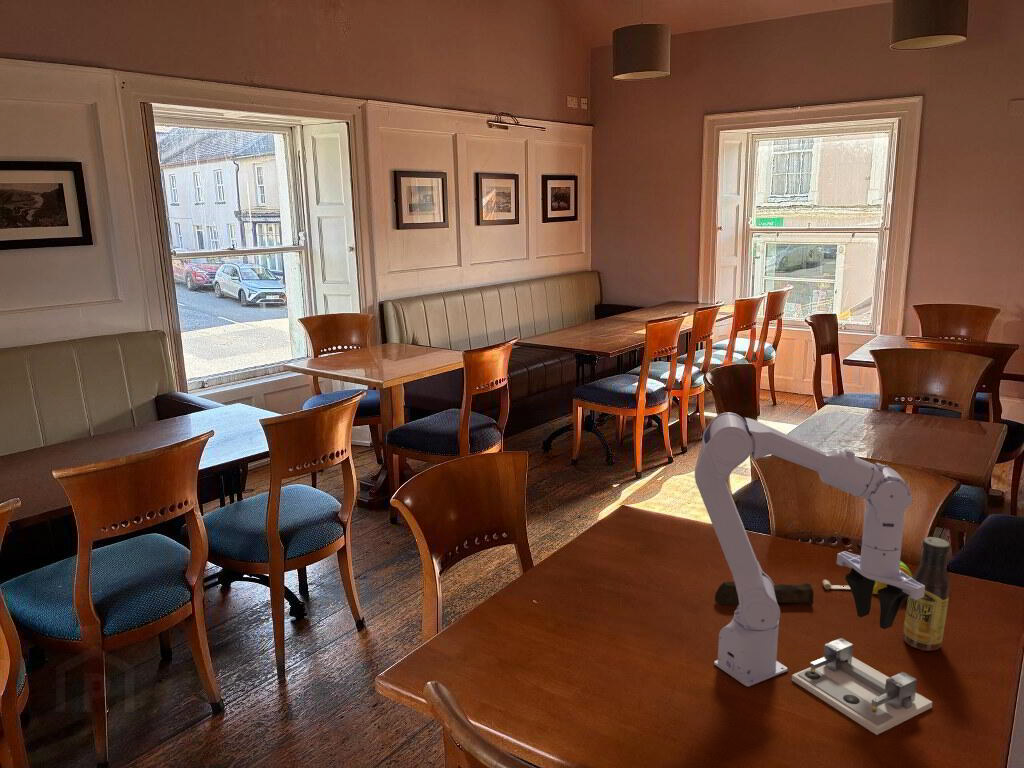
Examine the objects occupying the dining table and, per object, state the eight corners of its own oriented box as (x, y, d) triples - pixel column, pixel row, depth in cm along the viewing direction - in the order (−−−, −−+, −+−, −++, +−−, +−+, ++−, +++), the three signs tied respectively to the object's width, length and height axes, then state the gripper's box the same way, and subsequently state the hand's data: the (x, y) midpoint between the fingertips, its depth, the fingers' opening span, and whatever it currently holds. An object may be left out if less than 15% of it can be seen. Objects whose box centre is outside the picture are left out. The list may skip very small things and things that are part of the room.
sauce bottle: (894, 638, 141) (904, 536, 137) (920, 631, 143) (931, 530, 139) (924, 657, 135) (936, 550, 131) (951, 649, 137) (963, 544, 133)
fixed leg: (816, 679, 127) (818, 658, 126) (805, 671, 129) (806, 651, 128) (851, 664, 131) (853, 644, 130) (839, 657, 133) (841, 637, 132)
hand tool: (807, 598, 157) (809, 576, 156) (814, 607, 153) (815, 586, 152) (712, 598, 158) (713, 576, 157) (716, 607, 154) (717, 586, 153)
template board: (876, 735, 115) (878, 721, 115) (791, 680, 129) (792, 668, 129) (931, 707, 122) (933, 695, 121) (844, 657, 135) (845, 646, 135)
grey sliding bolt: (879, 717, 117) (881, 696, 117) (865, 709, 119) (867, 687, 119) (914, 700, 121) (916, 679, 120) (900, 692, 123) (902, 671, 122)
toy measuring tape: (929, 600, 154) (932, 570, 153) (826, 595, 157) (828, 564, 156) (918, 585, 161) (921, 556, 159) (819, 580, 164) (821, 551, 162)
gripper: (940, 554, 120) (931, 634, 123) (859, 522, 132) (852, 596, 135) (911, 565, 117) (903, 647, 120) (830, 531, 129) (824, 606, 132)
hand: (874, 620), depth 127 cm, fingers open, 4 cm apart
